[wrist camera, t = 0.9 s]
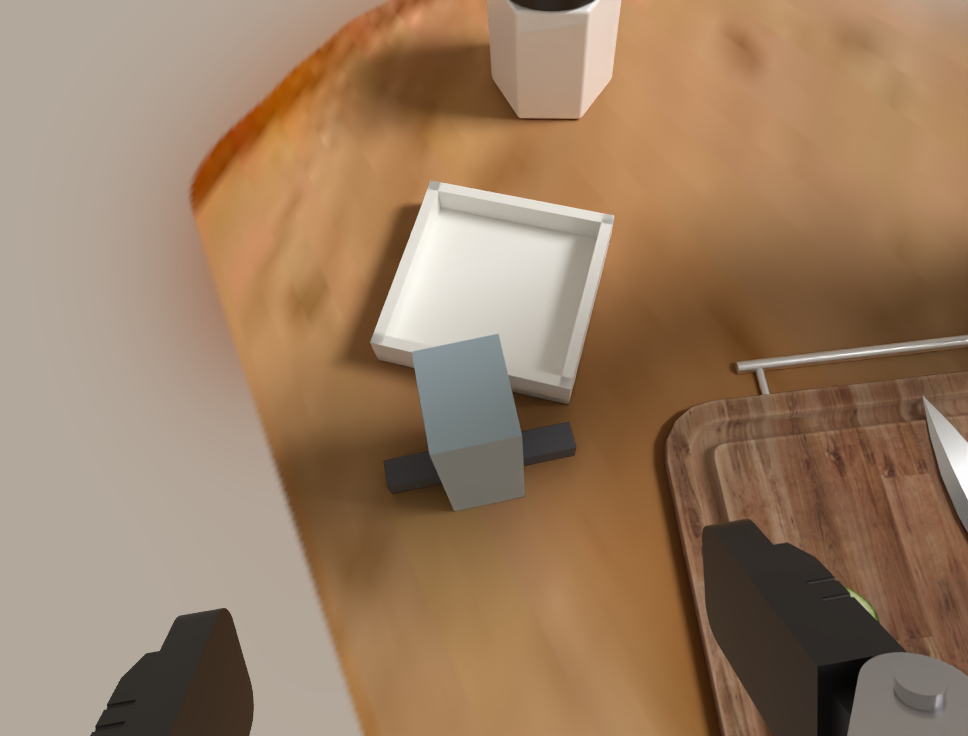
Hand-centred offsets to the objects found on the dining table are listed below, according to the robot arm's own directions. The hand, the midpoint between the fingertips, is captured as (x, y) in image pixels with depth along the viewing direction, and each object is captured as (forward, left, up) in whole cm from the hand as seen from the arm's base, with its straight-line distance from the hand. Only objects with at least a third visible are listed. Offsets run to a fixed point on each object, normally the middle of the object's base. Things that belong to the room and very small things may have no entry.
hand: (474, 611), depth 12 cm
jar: (-40, -8, -30) cm, 51 cm away
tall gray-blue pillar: (-10, -5, -29) cm, 32 cm away
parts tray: (-21, -7, -29) cm, 37 cm away
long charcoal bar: (-10, -5, -29) cm, 32 cm away
